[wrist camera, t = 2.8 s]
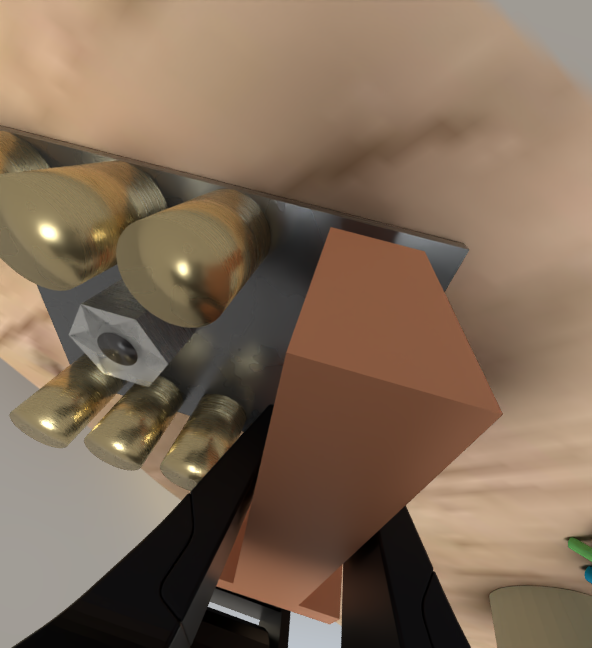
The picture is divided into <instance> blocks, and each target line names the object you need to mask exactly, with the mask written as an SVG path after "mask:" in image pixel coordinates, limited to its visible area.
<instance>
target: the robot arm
mask: <svg viewBox="0 0 592 648" xmlns="http://www.w3.org/2000/svg"><path fill="white" fill-rule="evenodd" d="M273 408H274V405H273V404H270V405H268V406H267V407H266V408H265V409H264V410H263V412H262V413H261V414H260V415H259V416H258V417H257V418H256V419H255V420H254V422H253V423H252V424H251V425H250V426H249V427H248V428H247V429H246V430H245V432H244V433H243V434H242V435H241V436H240V437H239V438H238V439H237V440H236V441H235V443H234V444H233V445H232V446H231V447H230V448H229V449H228V450H227V451H226V453H225V454H224V455H223V456H222V457H221V458H220V459H219V460H218V461H217V462H216V464H215V465H214V466H213V467H212V468H211V469H210V470H209V471H208V472H207V474H206V475H205V476H204V477H203V478H202V479H201V480H200V481H199V482H198V483H197V485H196V486H195V487H194V488H193V489H192V490H191V494H190V493H189V494H187V495H186V497H185V498H184V499H183V500H182V501H181V502H180V503H179V504H178V505H177V506H176V507H175V509H174V510H173V511H172V512H171V513H170V514H169V515H168V516H167V517H166V518H165V519H164V520H163V521H162V522H161V523H160V524H159V525H158V526H157V527H156V528H155V529H154V530H153V531H152V532H151V533H150V534H149V535H148V536H147V537H146V538H145V539H143V541H141V542H140V543H139V544H138V545H137V546H136V547H135V548H134V549H133V550H132V551H130V552H129V553H128V554H127V555H126V556H125V557H124V558H123V559H122V560H121V561H119V562H118V563H117V564H116V565H115V566H114V567H113V568H112V569H111V570H110V571H108V572H107V573H106V574H105V575H104V576H103V577H102V578H101V579H100V580H99V581H97V582H96V583H95V584H94V585H93V586H92V587H91V588H90V589H89V590H88V591H87V592H85V593H84V594H83V595H82V596H81V597H80V598H78V599H77V600H76V601H75V602H74V603H72V605H70V606H69V607H68V608H66V609H65V610H64V611H63V612H61V613H60V614H59V615H58V616H57V617H55V618H54V619H52V620H51V621H50V622H48V623H47V624H46V625H44V626H43V627H41V628H40V629H38V630H37V631H35V632H34V633H32V634H31V635H29V636H28V637H27V638H25V639H24V640H22V641H21V642H19V643H18V644H16V645H15V646H13V647H12V648H288V637H289V624H290V611H288V610H285V609H283V608H280V607H277V606H274V605H271V604H268V603H265V602H262V601H259V600H256V599H253V598H250V597H247V596H244V595H241V594H238V593H235V592H232V591H229V590H226V589H223V588H220V587H217V586H216V585H217V583H218V581H219V578H220V576H221V573H222V571H223V569H224V566H225V564H226V561H227V559H228V557H229V554H230V552H231V549H232V547H233V545H234V542H235V540H236V537H237V535H238V533H239V530H240V528H241V525H242V523H243V521H244V518H245V516H246V514H247V511H248V509H249V506H250V504H251V502H252V499H253V495H254V490H255V486H256V482H257V477H258V473H259V469H260V464H261V460H262V456H263V451H264V447H265V443H266V438H267V434H268V429H269V425H270V421H271V416H272V412H273ZM209 602H212V603H215V604H218V605H221V606H223V607H226V608H229V609H231V610H234V611H237V612H240V613H242V614H245V615H248V616H250V617H253V618H256V619H259V620H260V622H259V625H256V624H253V623H250V622H248V621H245V620H242V619H240V618H237V617H234V616H231V615H229V614H226V613H223V612H221V611H218V610H215V609H212V608H210V607H208V604H209ZM341 648H471V646H470V645H469V643H468V641H467V639H466V637H465V635H464V633H463V631H462V629H461V627H460V625H459V623H458V621H457V619H456V617H455V614H454V612H453V610H452V608H451V606H450V604H449V602H448V599H447V597H446V595H445V593H444V591H443V589H442V586H441V584H440V582H439V579H438V577H437V575H436V573H435V572H434V571H433V566H432V564H431V562H430V559H429V557H428V555H427V553H426V550H425V548H424V546H423V544H422V541H421V539H420V537H419V534H418V532H417V530H416V528H415V525H414V523H413V521H412V519H411V516H410V514H409V512H408V510H407V507H406V505H405V506H404V507H403V508H402V509H401V510H400V511H399V512H398V513H397V514H396V515H395V516H394V517H393V518H391V519H390V520H389V521H388V522H387V523H386V524H385V525H384V526H383V527H382V528H381V529H380V530H379V531H378V532H376V533H375V534H374V535H373V536H372V537H371V538H370V539H369V540H368V541H367V542H366V543H365V544H364V545H363V546H361V547H360V548H359V549H358V550H357V551H356V552H355V553H354V554H353V555H352V556H351V557H350V558H349V559H348V560H347V561H345V562H344V563H343V596H342V637H341Z"/></svg>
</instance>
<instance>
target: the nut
mask: <svg viewBox="0 0 592 648" xmlns="http://www.w3.org/2000/svg"><path fill="white" fill-rule="evenodd" d="M192 335H193V332H192V331H191V329H190V328H188V327H181V326H177V325H173V324H170V323H168V322H166V321H163V320H162V319H160V318H158V317H156V316H155V315H153V314H152V313H150V312H149V311H148V310H147V309H145V308H144V307H143V306H142V305H141V304H140V303H139V302H138V301H137V300H136V299H135V298H134V296H133V295H132V294H131V293H130V291H129V290H128V288H127V286H126V285H125V283H124V281H123V280H119V281H118V282H116V283H114V284H113V285H111V286H109V287H108V288H106V289H105V290H103V291H101V292H100V293H98V294H96V295H95V296H93V297H91V298H90V299H88V300H87V301H85V302H83V303H82V304H81V305H80V307H79V310H78V312H77V315H76V317H75V320H74V323H73V325H72V328H71V330H70V333H69V336H70V337H71V338H72V339H73V340H74V342H75V343H76V344H77V345H78V346H79V347H80V348H81V349H82V350H83V352H84V353H85V354H86V355H87V356H88V357H89V358H90V359H91V360H92V362H93V363H94V364H95V365H96V366H97V367H98V368H99V369H100V370H101V372H102V373H103V374H106V375H110V376H113V377H116V378H120V379H123V380H126V381H130V382H133V383H136V384H140V385H143V386H146V387H149V386H150V385H151V384H152V383H153V382H154V380H155V379H156V378H157V377H158V376H159V375H160V373H161V372H162V371H163V370H164V369H165V367H166V366H167V365H168V364H169V363H170V362H171V360H172V359H173V358H174V357H175V356H176V354H177V353H178V352H179V351H180V350H181V348H182V347H183V346H184V345H185V344H186V343H187V341H188V340H189V339H190V338H191V337H192Z"/></svg>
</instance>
